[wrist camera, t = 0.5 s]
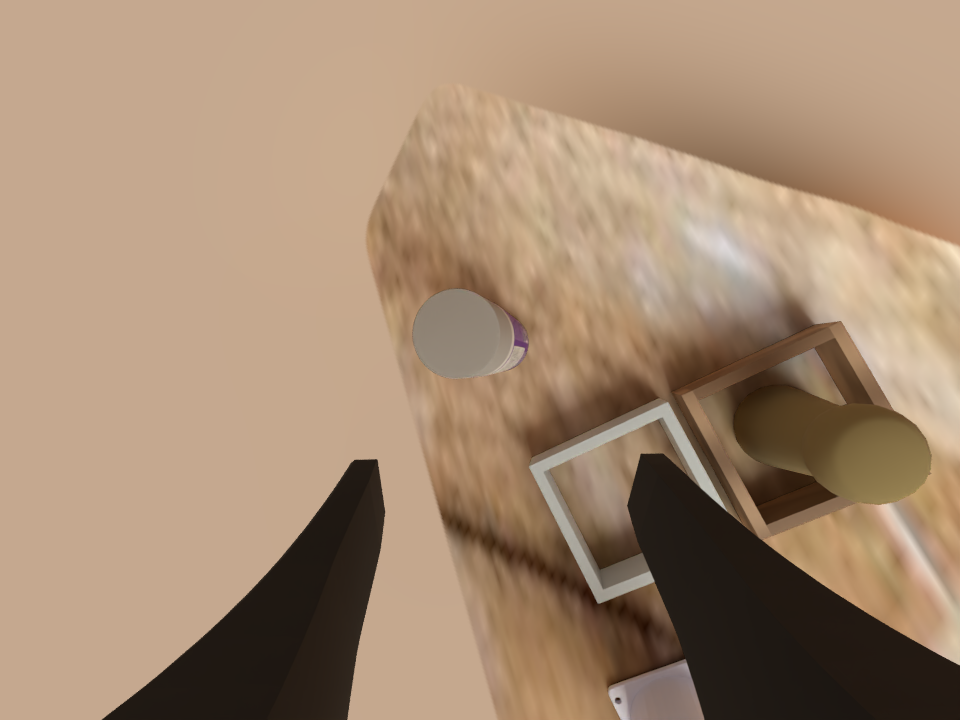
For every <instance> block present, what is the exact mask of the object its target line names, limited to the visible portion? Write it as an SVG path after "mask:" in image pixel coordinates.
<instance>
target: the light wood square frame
mask: <svg viewBox="0 0 960 720" xmlns="http://www.w3.org/2000/svg"><path fill="white" fill-rule="evenodd" d="M814 347H815V349H816V351H817V353H818V354H819V356H820V358H821V359H822V361H823V363H824V365H825V366H826V368H827V370H828V371H829V373H830V375H831V377H832V378H833V380H834V382H835V384H836V385H837V387H838V389H839V390H840V392H841V394H842V396H843V397H844V399H845V401H846V403H847V404H852V403H856V404H871V405H879V406H881V407H884V408H887V409H890V410H893V408H892V407H891V405H890V403H889V402H888V400H887V398H886V397H885V395H884V393H883V391H882V390H881V388H880V386H879V385H878V383H877V381H876V380H875V378H874V376H873V374H872V373H871V371H870V369H869V368H868V366H867V364H866V363H865V361H864V359H863V357H862V356H861V354H860V352H859V351H858V349H857V347H856V346H855V344H854V342H853V340H852V339H851V337H850V335H849V334H848V332H847V330H846V329H845V327H844V325H843V323H842V322H841V321H839V322H831V323H824V324H816V325H813V326H811V327H809V328H807V329H805V330H803V331H801V332H799V333H796V334H794V335H792V336H790V337H788V338H786V339H784V340H781V341H779V342H777V343H775V344H773V345H771V346H769V347H767V348H764V349H762V350H760V351H758V352H756V353H754V354H752V355H749V356H747V357H745V358H743V359H741V360H739V361H737V362H735V363H732V364H730V365H728V366H726V367H724V368H722V369H720V370H717V371H715V372H713V373H711V374H709V375H707V376H705V377H703V378H700V379H698V380H696V381H694V382H692V383H690V384H688V385H685V386H683V387H681V388H679V389H677V390H675V391H673V392H671V393H672V394H673V396H674V398H675V400H676V402H677V404H678V406H679V407H680V409H681V411H682V413H683V415H684V417H685V418H686V420H687V422H688V424H689V426H690V428H691V429H692V431H693V433H694V435H695V437H696V439H697V440H698V442H699V444H700V446H701V448H702V450H703V452H704V453H705V455H706V457H707V459H708V461H709V463H710V464H711V466H712V468H713V470H714V472H715V474H716V475H717V477H718V479H719V481H720V483H721V485H722V486H723V488H724V490H725V492H726V494H727V496H728V497H729V499H730V501H731V503H732V505H733V507H734V509H735V510H736V512H737V514H738V516H739V518H740V520H741V521H742V523H743V525H745V526H746V527H747V528H748V529H749V530H750V531H751V532H752V533H753V534H755V535H756V536H757V537H758V538H760V539H761V540H763V539H766V538H768V537H771V536H773V535H776V534H779V533H781V532H784V531H786V530H789V529H791V528H794V527H796V526H799V525H802V524H804V523H807V522H809V521H812V520H814V519H817V518H820V517H822V516H825V515H827V514H830V513H832V512H835V511H837V510H840V509H843V508H845V507H848V506H850V505H853V504H855V503H857V502H852V501H850V500H847V499H845V498H842V497H840V496H837V495H835V494H833V493H832V492H830V491H829V490H827V489H826V488H825V487H823V486H822V485H821V484H820V483H818V482H815V483H813V484H810V485H808V486H806V487H803V488H801V489H798V490H796V491H793V492H791V493H788V494H786V495H783V496H781V497H778V498H776V499H773V500H771V501H769V502H766V503H764V504H761V505H759V506H755V504H754V502H753V500H752V498H751V496H750V495H749V493H748V491H747V489H746V487H745V486H744V484H743V482H742V480H741V478H740V476H739V475H738V473H737V471H736V469H735V467H734V465H733V464H732V462H731V460H730V458H729V456H728V455H727V453H726V451H725V449H724V447H723V445H722V444H721V442H720V440H719V438H718V436H717V434H716V433H715V431H714V429H713V427H712V425H711V424H710V422H709V420H708V418H707V416H706V414H705V413H704V411H703V409H702V407H701V405H700V403H699V402H698V401H699V400H701V399H703V398H705V397H707V396H709V395H712V394H714V393H716V392H718V391H720V390H723V389H725V388H727V387H729V386H731V385H733V384H736V383H738V382H740V381H742V380H744V379H746V378H749V377H751V376H753V375H755V374H757V373H760V372H762V371H764V370H766V369H768V368H770V367H773V366H775V365H777V364H779V363H781V362H783V361H786V360H788V359H790V358H792V357H794V356H796V355H799V354H801V353H803V352H805V351H807V350H810V349H812V348H814ZM893 411H894V410H893ZM930 474H931V473H930V472H929V474H928V475H930Z"/></svg>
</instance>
